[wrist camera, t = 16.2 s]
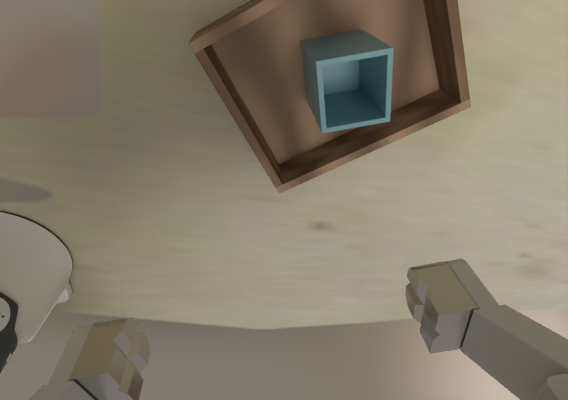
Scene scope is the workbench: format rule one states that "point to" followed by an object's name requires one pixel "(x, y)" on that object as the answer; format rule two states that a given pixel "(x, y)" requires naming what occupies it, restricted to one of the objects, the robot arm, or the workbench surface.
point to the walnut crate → (291, 85)
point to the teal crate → (348, 79)
